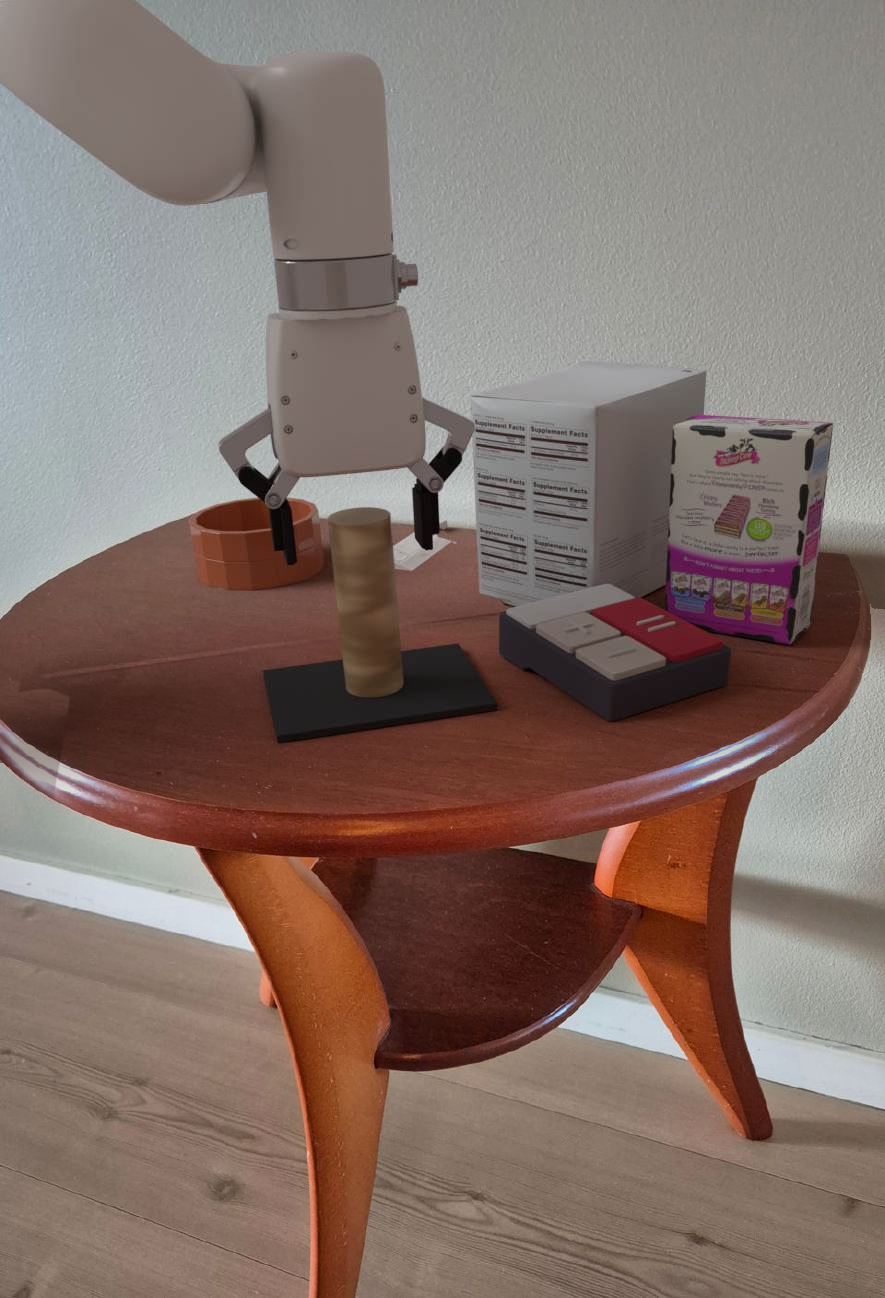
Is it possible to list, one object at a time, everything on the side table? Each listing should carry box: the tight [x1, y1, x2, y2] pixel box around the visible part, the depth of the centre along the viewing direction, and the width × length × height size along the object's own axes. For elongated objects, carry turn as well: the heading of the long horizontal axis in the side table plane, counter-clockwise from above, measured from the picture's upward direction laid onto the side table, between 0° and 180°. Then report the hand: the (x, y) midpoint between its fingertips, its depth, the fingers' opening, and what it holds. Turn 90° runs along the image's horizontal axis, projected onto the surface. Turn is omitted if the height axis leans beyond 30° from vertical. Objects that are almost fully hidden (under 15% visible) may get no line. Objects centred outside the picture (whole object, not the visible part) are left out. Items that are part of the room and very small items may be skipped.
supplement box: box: [469, 360, 707, 607], centre depth 97 cm, size 17×13×18 cm
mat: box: [262, 643, 499, 744], centre depth 83 cm, size 16×12×1 cm
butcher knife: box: [393, 518, 458, 572], centre depth 112 cm, size 5×15×1 cm, turn 155°
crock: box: [188, 497, 325, 592], centre depth 107 cm, size 12×12×6 cm
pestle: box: [327, 506, 404, 698], centre depth 79 cm, size 4×4×13 cm
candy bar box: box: [663, 414, 834, 646], centre depth 86 cm, size 11×5×16 cm, turn 55°
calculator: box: [498, 584, 732, 722], centre depth 83 cm, size 11×4×15 cm
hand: (357, 552), depth 77 cm, fingers open, 9 cm apart
